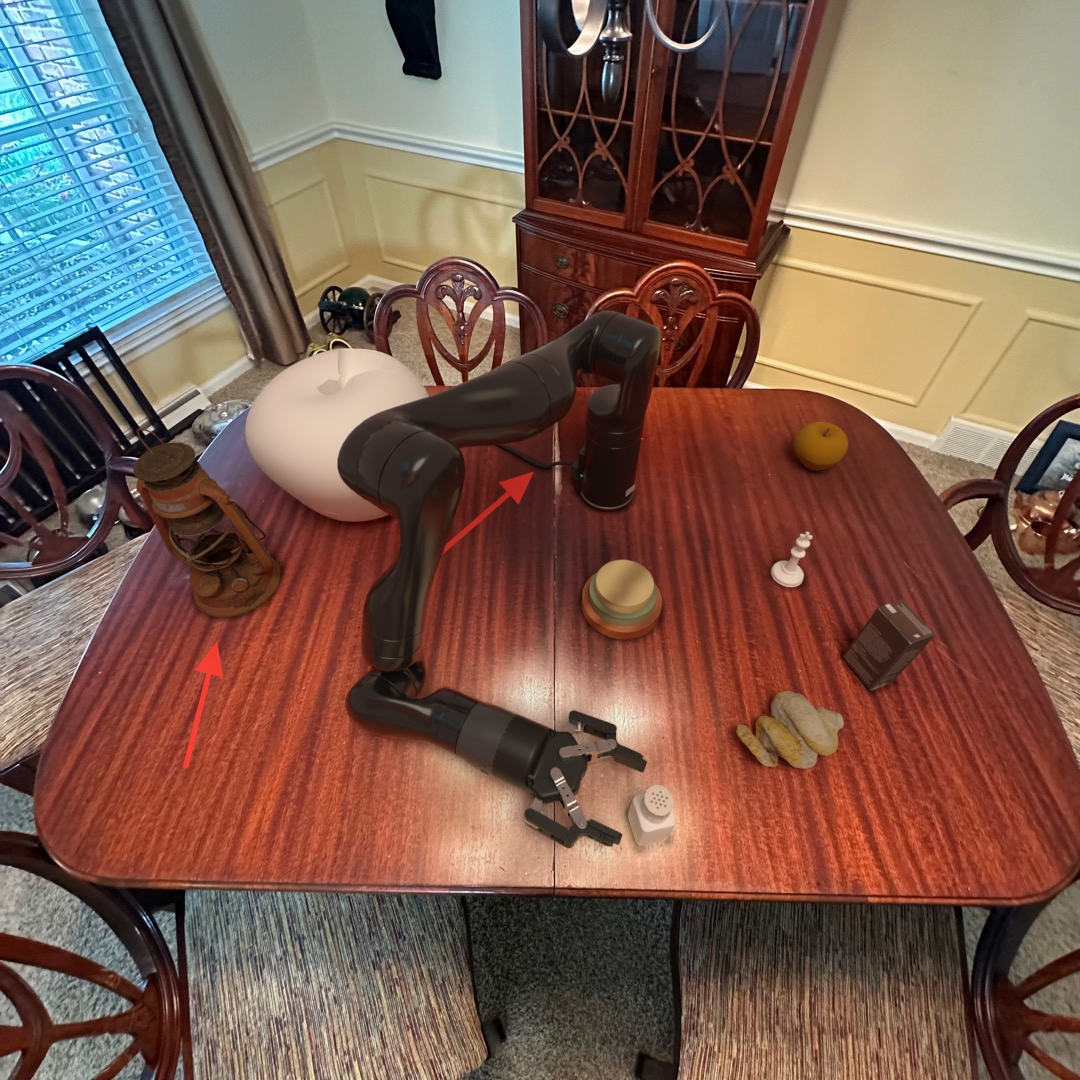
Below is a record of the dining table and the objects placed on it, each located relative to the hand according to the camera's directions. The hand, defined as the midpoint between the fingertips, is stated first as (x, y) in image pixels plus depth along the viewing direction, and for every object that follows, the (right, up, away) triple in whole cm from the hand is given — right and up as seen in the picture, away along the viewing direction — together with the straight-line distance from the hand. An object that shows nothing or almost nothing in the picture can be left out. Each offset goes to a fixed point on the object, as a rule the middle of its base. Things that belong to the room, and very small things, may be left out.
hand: (633, 801), depth 67 cm
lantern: (-58, +22, +28) cm, 68 cm away
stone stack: (+22, +3, +11) cm, 25 cm away
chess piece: (+29, +23, +29) cm, 47 cm away
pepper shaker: (+2, -5, +4) cm, 7 cm away
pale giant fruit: (-42, +37, +40) cm, 68 cm away
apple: (+40, +43, +46) cm, 75 cm away
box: (+36, +11, +18) cm, 41 cm away
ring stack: (+2, +19, +25) cm, 31 cm away
